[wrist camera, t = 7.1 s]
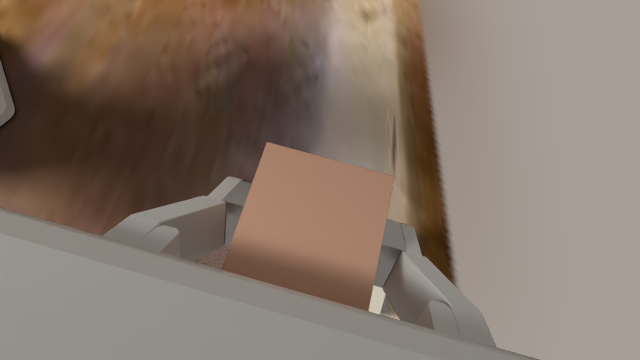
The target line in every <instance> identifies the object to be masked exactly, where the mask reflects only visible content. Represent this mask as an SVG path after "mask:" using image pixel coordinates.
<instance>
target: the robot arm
mask: <svg viewBox="0 0 640 360" xmlns="http://www.w3.org/2000/svg"><path fill="white" fill-rule="evenodd" d="M14 112H15V107H14V104H13V101H12V97H11V94H10V91H9V87H8V84H7V81H6V77H5V74H4V71H3V68H2V64H1V61H0V126H1V125H2V124H4V123H5V122H6V121H8V120H9V119H10V118H11V117H12V116H13V114H14ZM251 185H252V182H249V181H246V180H242V179H239V178H236V177H232V176H228V177H227V178H226V179H225V180H224V181H223V182H222V183H221V184H220V185H218V186H217V187H216V188H215V189H214V190H213V191H212V192H211V193H210V194H209V195H208V196H207V197H206V196H200V197H196V198H192V199H188V200H185V201H181V202H177V203H173V204H169V205H166V206H162V207H158V208H154V209H150V210H147V211H143V212H139V213H135V214H131V215H130V216H129V217H127V218H126V219H124V220H123V221H122V222H120V223H119V224H118V225H116V226H115V227H114V228H112V229H111V230H109V231H108V232H107V233H105V234H104V235H103V236H101V235H97V234H94V233H90V232H87V231H83V230H80V229H76V228H73V227H69V226H65V225H62V224H58V223H55V222H51V221H48V220H44V219H41V218H37V217H34V216H30V215H27V214H23V213H20V212H16V211H13V210H9V209H6V208H2V207H0V360H538V359H535V358H531V357H528V356H524V355H521V354H517V353H514V352H510V351H506V350H503V349H500V348H497V347H496V345H495V342H494V340H493V338H492V336H491V333H490V331H489V329H488V326H487V324H486V322H485V319H484V317H483V315H482V313H481V312H480V311H479V310H478V309H477V308H476V307H475V306H474V305H473V304H472V303H471V302H470V301H469V300H468V299H467V298H466V297H465V296H464V295H463V294H462V293H461V292H460V291H459V290H458V289H457V288H456V287H455V286H454V285H453V284H452V283H451V282H450V281H449V280H448V279H447V278H446V277H445V276H444V275H443V274H442V273H441V272H440V271H439V270H438V269H437V268H436V267H435V266H434V265H433V264H432V263H431V262H430V260H429V259H428V258H427V257H424V256H422V253H421V250H420V246H419V243H418V239H417V236H416V232H415V229H414V227H413V226H412V225H407V224H403V223H398V222H394V221H390V220H386V224H385V229H384V234H383V239H382V244H381V249H380V254H379V260H378V265H377V270H376V275H375V280H374V286H377V287H381V288H383V291H384V293H385V294H386V296H387V298H388V299H389V301H390V303H391V305H392V306H393V308H394V310H395V312H396V313H397V315H398V317H399V319H400V320H397V319H394V318H390V317H387V316H383V315H380V314H376V313H373V312H369V311H366V310H362V309H359V308H355V307H352V306H348V305H344V304H341V303H337V302H334V301H330V300H327V299H323V298H320V297H316V296H313V295H309V294H306V293H302V292H298V291H295V290H291V289H288V288H284V287H281V286H277V285H274V284H270V283H267V282H263V281H259V280H256V279H252V278H249V277H245V276H242V275H238V274H235V273H231V272H228V271H224V270H221V269H217V268H213V267H210V266H206V265H203V264H199V263H196V262H194V261H196V260H198V259H199V258H201V257H203V256H205V255H206V254H208V253H210V252H212V251H213V250H215V249H217V248H219V247H221V246H222V245H224V244H228V245H230V244H231V241H232V239H233V236H234V233H235V230H236V227H237V225H238V222H239V219H240V216H241V213H242V211H243V208H244V205H245V202H246V199H247V197H248V194H249V191H250V188H251Z"/></svg>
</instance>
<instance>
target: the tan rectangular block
mask: <svg viewBox="0 0 640 360" xmlns="http://www.w3.org/2000/svg"><path fill="white" fill-rule="evenodd" d="M394 177H395V176H391V175H388V174H384V173H380V172H376V171H373V170H369V169H365V168H362V167H358V166H354V165H350V164H347V163H343V162H339V161H336V160H332V159H328V158H324V157H321V156H317V155H313V154H310V153H306V152H302V151H299V150H295V149H291V148H287V147H284V146H280V145H276V144H273V143H269V142H267V143H266V146H265V149H264V152H263V154H262V157H261V160H260V163H259V166H258V168H257V171H256V174H255V177H254V180H253V182H252V185H251V188H250V191H249V194H248V197H247V199H246V202H245V205H244V208H243V211H242V213H241V216H240V219H239V222H238V225H237V227H236V230H235V233H234V236H233V239H232V241H231V244H230V247H229V250H228V253H227V256H226V258H225V261H224V264H223V267H222V270H224V271H228V272H231V273H235V274H238V275H242V276H245V277H249V278H252V279H256V280H259V281H263V282H267V283H270V284H274V285H277V286H281V287H284V288H288V289H291V290H295V291H298V292H302V293H306V294H309V295H313V296H316V297H320V298H323V299H327V300H330V301H334V302H337V303H341V304H344V305H348V306H352V307H355V308H359V309H362V310H366V311H369V306H370V301H371V296H372V290H373V285H374V280H375V275H376V270H377V265H378V260H379V254H380V249H381V244H382V239H383V234H384V229H385V224H386V219H387V213H388V208H389V203H390V198H391V193H392V188H393V183H394Z"/></svg>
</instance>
